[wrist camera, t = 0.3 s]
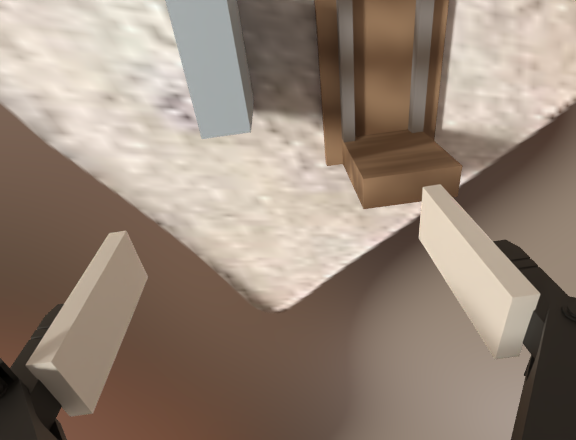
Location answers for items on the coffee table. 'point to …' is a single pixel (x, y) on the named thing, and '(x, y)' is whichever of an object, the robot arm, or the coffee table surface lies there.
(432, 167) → the wooden u-shaped holder
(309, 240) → the coffee table surface
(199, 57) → the gray rectangular block
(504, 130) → the coffee table surface
